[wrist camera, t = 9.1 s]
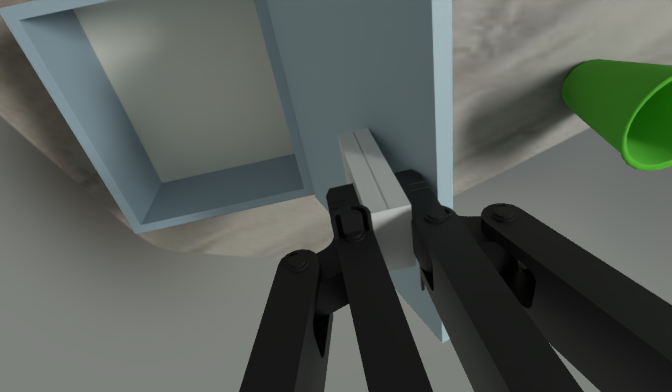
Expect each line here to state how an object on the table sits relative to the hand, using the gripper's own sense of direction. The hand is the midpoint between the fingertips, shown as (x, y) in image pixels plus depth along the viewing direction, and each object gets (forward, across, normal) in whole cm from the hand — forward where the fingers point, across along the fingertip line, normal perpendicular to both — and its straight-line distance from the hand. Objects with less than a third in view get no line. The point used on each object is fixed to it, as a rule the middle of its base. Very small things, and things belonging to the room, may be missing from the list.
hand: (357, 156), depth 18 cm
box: (+20, -11, 0) cm, 23 cm away
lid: (+3, 0, 0) cm, 3 cm away
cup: (+20, +27, -8) cm, 35 cm away
